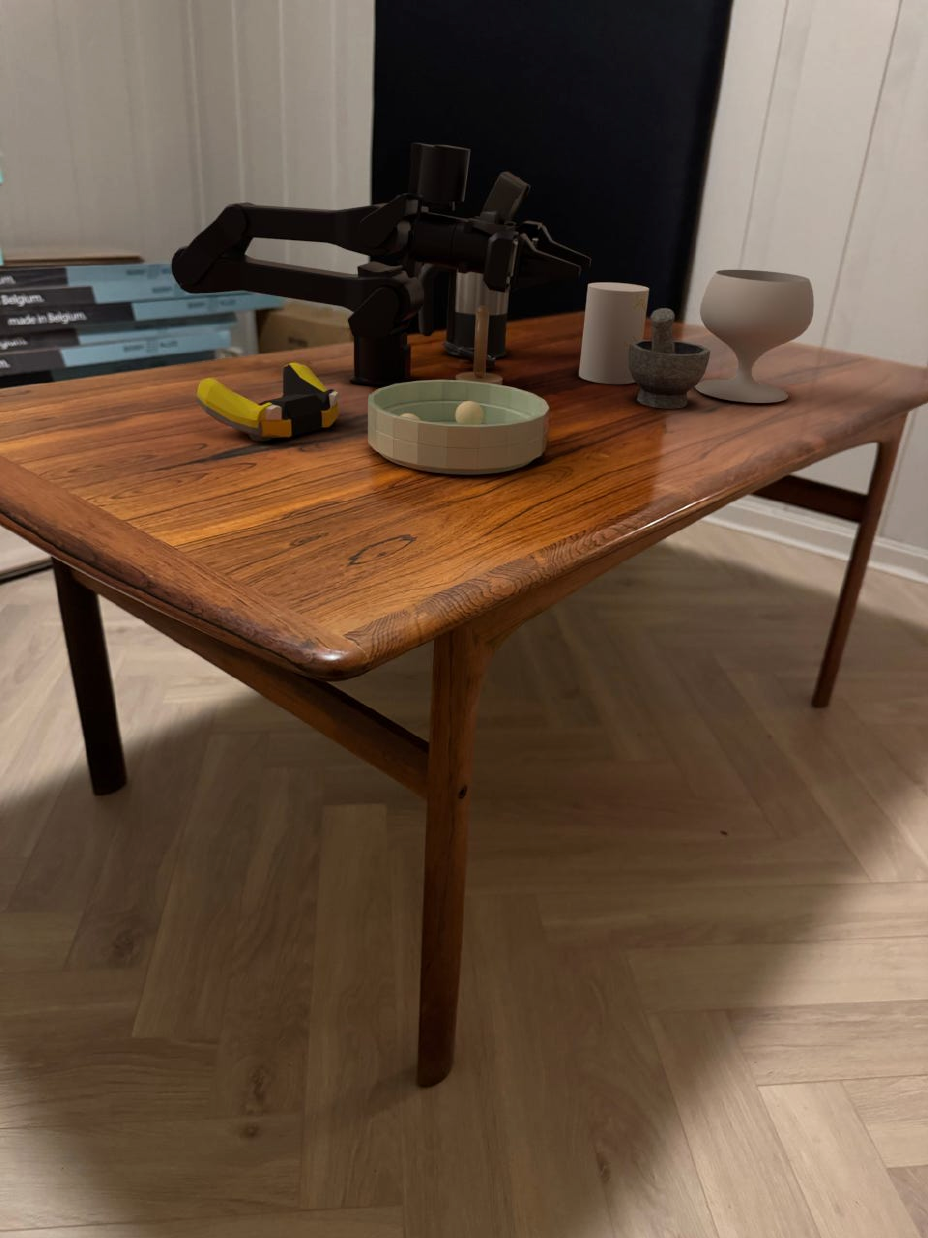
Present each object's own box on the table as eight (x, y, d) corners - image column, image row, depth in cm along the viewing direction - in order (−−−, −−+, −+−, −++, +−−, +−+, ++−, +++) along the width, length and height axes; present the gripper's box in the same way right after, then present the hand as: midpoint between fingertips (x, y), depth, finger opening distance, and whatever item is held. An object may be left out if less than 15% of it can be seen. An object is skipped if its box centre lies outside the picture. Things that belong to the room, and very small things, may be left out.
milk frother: (486, 345, 145) (492, 244, 138) (545, 366, 133) (554, 256, 126) (406, 351, 138) (408, 245, 131) (460, 374, 126) (465, 258, 119)
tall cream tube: (636, 386, 124) (648, 293, 119) (576, 380, 126) (585, 288, 120) (638, 373, 132) (649, 285, 126) (581, 368, 133) (590, 280, 127)
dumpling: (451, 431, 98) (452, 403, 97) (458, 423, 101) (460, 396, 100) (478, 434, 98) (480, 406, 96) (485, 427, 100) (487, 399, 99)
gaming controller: (191, 430, 97) (254, 451, 91) (186, 378, 94) (251, 396, 89) (298, 406, 107) (360, 423, 102) (296, 358, 105) (359, 373, 100)
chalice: (676, 396, 120) (694, 275, 113) (699, 377, 131) (718, 265, 125) (786, 413, 115) (812, 287, 108) (801, 391, 126) (826, 275, 120)
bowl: (342, 463, 89) (341, 412, 87) (400, 417, 105) (400, 373, 103) (525, 487, 86) (529, 435, 83) (557, 435, 101) (561, 390, 99)
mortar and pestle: (639, 389, 123) (651, 295, 117) (708, 400, 119) (724, 303, 114) (609, 406, 114) (621, 305, 109) (683, 419, 110) (699, 315, 105)
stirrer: (449, 392, 117) (453, 306, 112) (461, 382, 122) (465, 300, 117) (496, 397, 116) (501, 311, 111) (506, 386, 121) (511, 304, 116)
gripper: (446, 171, 99) (589, 196, 96) (485, 168, 115) (608, 189, 112) (433, 279, 104) (568, 305, 102) (472, 262, 120) (590, 284, 118)
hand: (585, 267), depth 108 cm, fingers open, 9 cm apart
